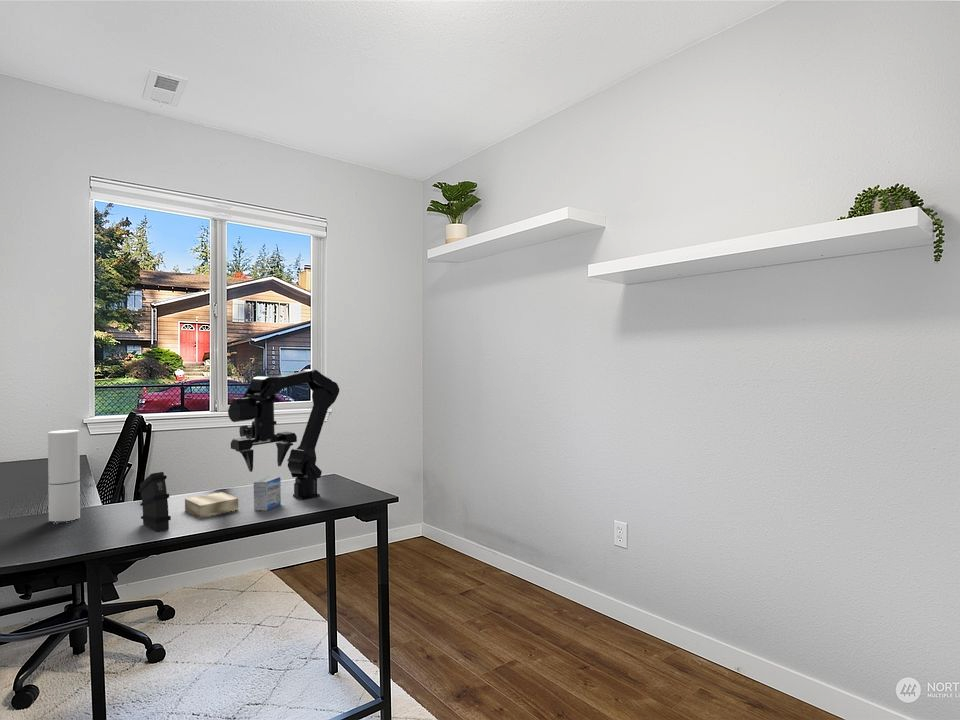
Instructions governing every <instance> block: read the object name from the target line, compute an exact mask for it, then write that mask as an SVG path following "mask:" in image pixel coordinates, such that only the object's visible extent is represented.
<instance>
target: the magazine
mask: <svg viewBox="0 0 960 720" xmlns="http://www.w3.org/2000/svg"><path fill="white" fill-rule="evenodd" d="M166 479H167V475H165V474H164V471H160V472H154V473H153V472H152V473H150V474H149V475H148V476H147V477H146V478H145V479H144V480H143V481H142V482H141V483H139V489H138V490H137V491H138V493H140V495H141V496H140V497H141V503H140V504H139V505H140V507H142V515H140V519H142V524H143V525H144V526H146V527H148V528H150V529H151V530H153V531H155V532H156V533H160V532H164V531H168V530H169V529H170V527H169V526H170V524H169V523H170V522H169V521H171V520H172V519H171V518H172V516H171V515H169V500H168V499H170V493H168V492H167V484H166Z"/></svg>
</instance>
